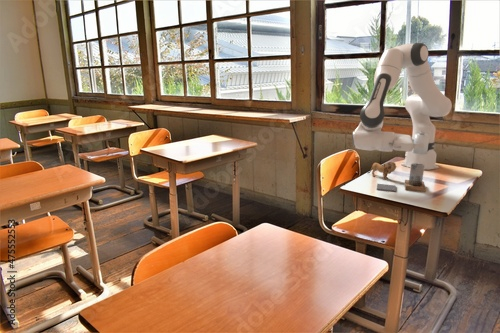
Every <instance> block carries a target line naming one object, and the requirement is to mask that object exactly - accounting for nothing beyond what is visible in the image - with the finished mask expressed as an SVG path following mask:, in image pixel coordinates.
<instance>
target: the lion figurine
mask: <svg viewBox="0 0 500 333" xmlns="http://www.w3.org/2000/svg"><path fill="white" fill-rule="evenodd" d="M396 168H397V165H396V162H395V161H389V162H386V163H384V164H380V163H378V162H374V163H373V164H372V166H371V169H370V171H368V172H367V174H370V173H371V175H372V177H373V178H374V177H376V174H375V172H376V171H378V173H381V174H382V180H383V181H386V180H387V179H389V177H388V175H390V174H392V173H393V172H395V171H396Z"/></svg>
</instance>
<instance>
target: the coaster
mask: <svg viewBox="0 0 500 333" xmlns="http://www.w3.org/2000/svg"><path fill="white" fill-rule="evenodd" d="M376 191H383V192H390V193H391V192H392V193H396V192H397V186H396V185H393V184H384V183H377V184H376Z"/></svg>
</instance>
